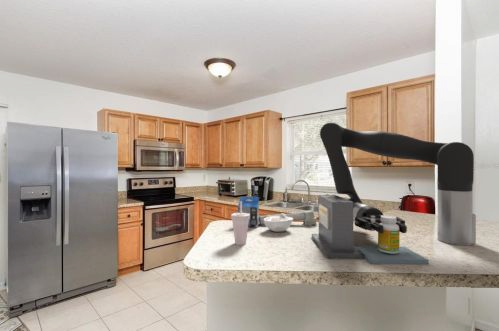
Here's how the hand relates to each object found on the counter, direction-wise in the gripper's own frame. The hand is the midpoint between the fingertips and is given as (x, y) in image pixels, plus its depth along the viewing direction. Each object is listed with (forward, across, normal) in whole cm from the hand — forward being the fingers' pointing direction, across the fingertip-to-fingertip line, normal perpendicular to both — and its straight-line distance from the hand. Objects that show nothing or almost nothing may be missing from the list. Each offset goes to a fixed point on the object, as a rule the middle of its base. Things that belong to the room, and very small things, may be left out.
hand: (393, 229), depth 71 cm
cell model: (-30, -29, +9) cm, 43 cm away
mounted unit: (-10, -13, +8) cm, 19 cm away
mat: (-2, 0, +8) cm, 9 cm away
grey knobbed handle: (-41, -24, +9) cm, 48 cm away
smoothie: (-14, -43, +8) cm, 46 cm away
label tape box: (-38, -41, +9) cm, 57 cm away
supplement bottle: (-3, 0, +7) cm, 7 cm away
